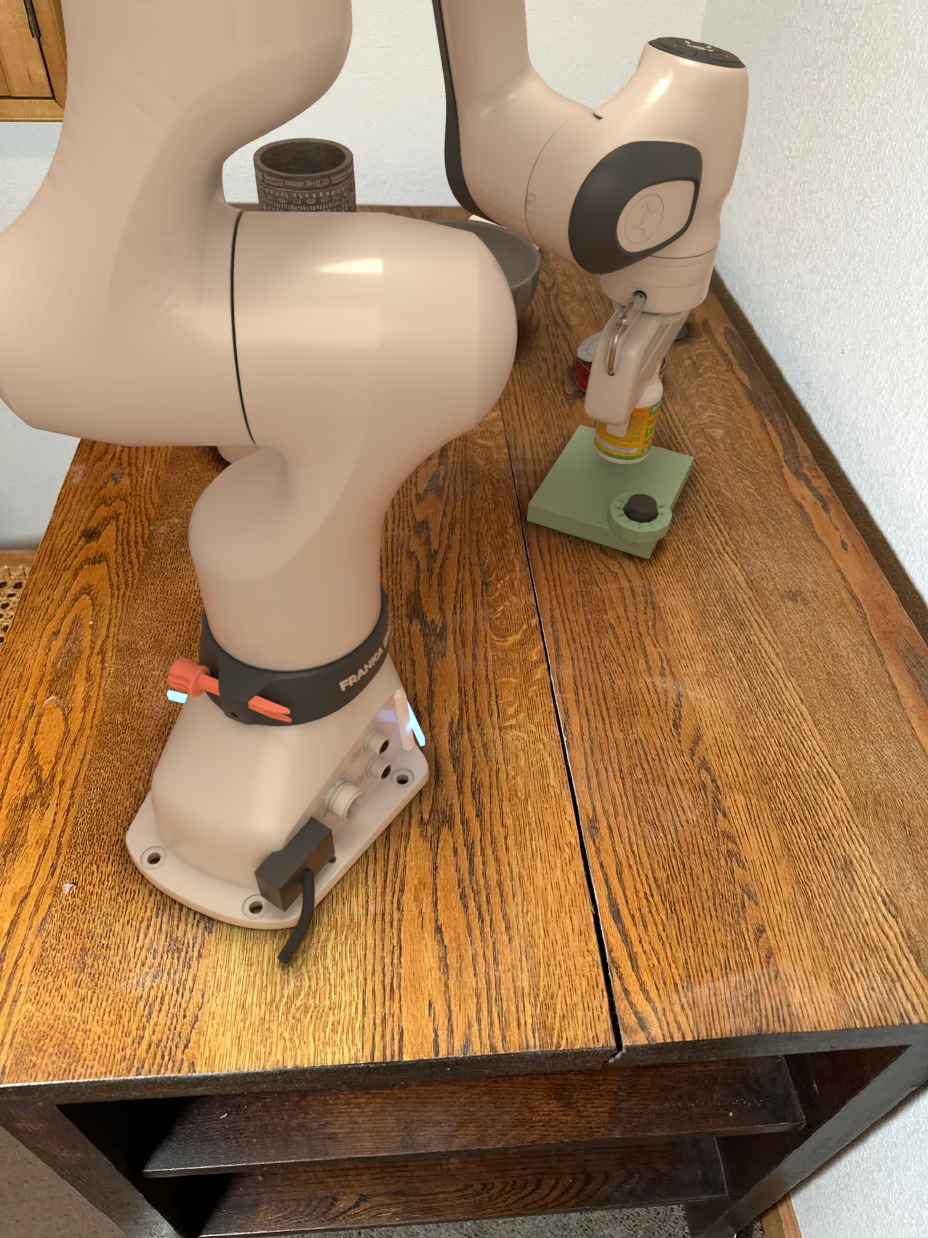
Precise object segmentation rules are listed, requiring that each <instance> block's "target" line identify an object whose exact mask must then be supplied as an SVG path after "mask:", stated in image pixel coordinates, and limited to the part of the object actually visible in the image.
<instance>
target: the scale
mask: <svg viewBox="0 0 928 1238" xmlns="http://www.w3.org/2000/svg"><path fill="white" fill-rule="evenodd" d="M595 431H596V428H594V427H590V426H586V425H584V424H579V425H578V426H577V428H576V430H575V431H574V433H573V434H572V436H571V437H570V439H569V440H568V442H567V443H566V445H565V446H564V448H563V450H562V451H561V453H560V454H559V456H558V458H557V459H556V460H555V462H554V464H553V465H552V467H551V468H550V470H549V471H548V473H547V474H546V476H545V478H543V480H542V482H541V483H540V485H539V487H538V488H537V490H536V491H535V493H534V495H532V497H531V499H530V500H529V502H528V504H527V512H526V513H527V514H526V521H527V522H530V523H534V524H537V525H539V526H543V527H546V528H549V529H551V530H555V531H558V532H562V533H565V534H568V535H571V536H573V537H578V538H580V539H583V540H586V541H589V542H592V543H595V544H599V545H602V546H604V547H609V548H611V549H614V550H618V551H621V552H624V553H627V554H630V555H633V556H636V557H640V558H642V559H646V560H650V558H651V556H652V554H653V552H654V550H655V548H656V546H657V543H658V542H659V540H661V539H663V538H665V537H666V536H667V533H668V532H669V530H670V527H671V523H672V519H673V513H672V512H673V510H674V509H675V506H676V504H677V502H678V499H679V498H680V496H681V494H682V492H683V489H684V487H685V485H686V483H687V481H688V480H689V477H690V475H691V472H692V467H693V464H694V459H695V457H694V456H692V455H688V454H685V453H681V452H678V451H674V450H671V449H667V448H664V447H660V446H657V445H653V444H651V448H650V452H649V454H648V456H647V457H646V458H645V459H643V460H642V461H640V462H637V463H633V464H618V463H613V462H610V461H608V460H606V459H604V458H603V457H601V456H600V455H599V454H598V453H597V451H596V450H595V447H594V437H595ZM635 494H646V495H649V496H651V497H653V498H654V499H655V500H656V502H657V508H656V512H655V517H654V519H653V520H652V521H650V522H648V523H639V522H635V521H632V520H630V519H629V518H628V517H627V515H626V508H627V503H628V499H629V498H630V497H631V496H632V495H635Z"/></svg>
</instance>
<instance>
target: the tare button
mask: <svg viewBox="0 0 928 1238" xmlns="http://www.w3.org/2000/svg"><path fill="white" fill-rule="evenodd" d="M656 508H657V502H656V500H655V499H654V498H653V497H651V496H649V495H646V494H635V495H632V496H631V497H630V498H629V499H628V503H627V508H626V515H627V517H628V518H629V519H630V520H632V521H635V522H639V523H648V522H650V521H652V520H653V519H654V517H655V512H656Z"/></svg>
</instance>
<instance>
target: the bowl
mask: <svg viewBox="0 0 928 1238" xmlns="http://www.w3.org/2000/svg"><path fill="white" fill-rule="evenodd" d="M422 220H423V221H428V222H432V223H436V224H440V225H444V226H448V227H453V228H457V229H461V230H465V231H469V232H472V233H474V234H476V235H477V237H478V238H479V239H480V240H481V241H482V242H483V243H484V244H485V245H486V246H487V248H488V249H489V250H490V252H491V253H492V254H493V255H494V257H495V259H496V260H497V262H498V264H499V265H500V267H501V269H502V271H503V273H504V275H505V277H506V279H507V281H508V284H509V287H510V290H511V293H512V296H513V301H514V305H515V310H516V319H517V322H518V321H519V320H520V319H521V318H522V316H523V315H524V313H525V312H526V311H527V310H528V308H529V306H530V304H531V303H532V300H533V298H534V296H535V292H536V290H537V287H538V284H539V281H540V273H541V263H542V262H541V261H542V258H541V254H540V252H539V250H537V248H536V247H535V246H534V245H533V244H532V243H531V242H529V241H528V240H526V239H524V238H522V237H521V236H519V235H517V234H516V233H514V232H512V231H510V230H509V229H507V228H504V227H501V226H498V225H495V224H491V223H487V222H482V221H477V220H470V219H469V218H459V217H434V218H431V217H430V218H424V219H422Z"/></svg>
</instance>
